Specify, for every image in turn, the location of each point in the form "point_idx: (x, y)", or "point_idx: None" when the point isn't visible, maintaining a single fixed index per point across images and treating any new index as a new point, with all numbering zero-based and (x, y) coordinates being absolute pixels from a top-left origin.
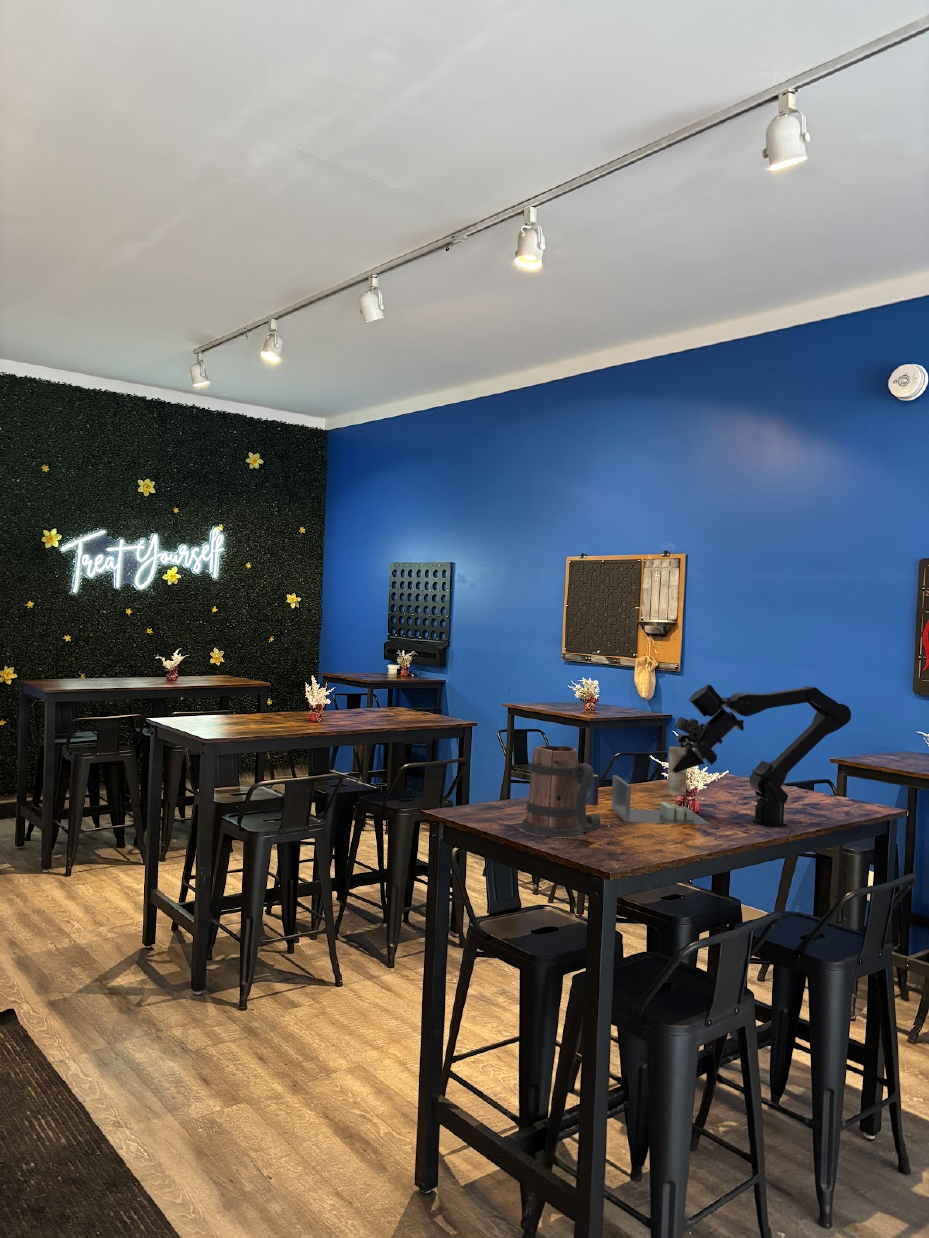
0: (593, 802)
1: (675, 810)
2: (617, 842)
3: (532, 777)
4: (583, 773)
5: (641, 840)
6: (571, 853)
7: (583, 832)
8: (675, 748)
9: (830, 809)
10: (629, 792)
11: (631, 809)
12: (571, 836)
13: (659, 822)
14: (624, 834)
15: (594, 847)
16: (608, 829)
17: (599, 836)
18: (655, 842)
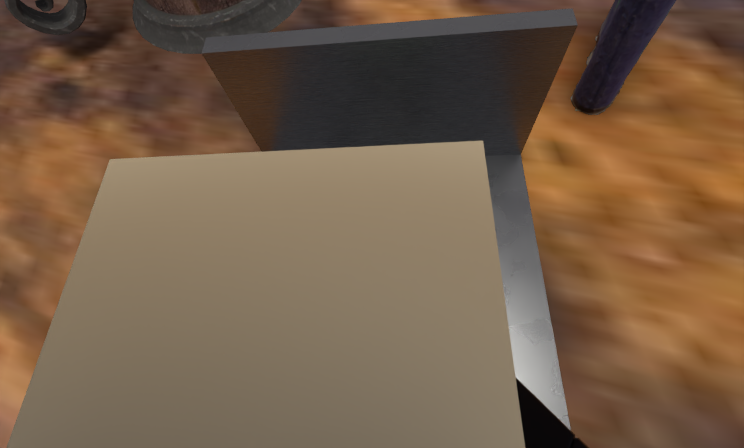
0: (581, 81)
1: None
2: (67, 108)
3: None
4: None
5: (71, 174)
6: (4, 13)
7: (162, 38)
8: (80, 248)
9: None
10: (219, 77)
11: (525, 218)
12: (135, 16)
13: None
14: (154, 140)
15: (36, 55)
16: (223, 106)
17: (141, 75)
18: (36, 210)
